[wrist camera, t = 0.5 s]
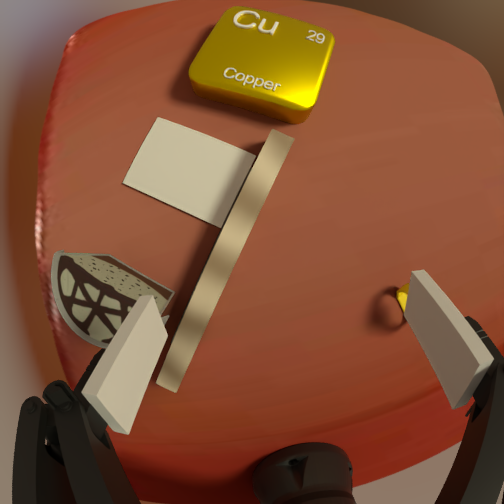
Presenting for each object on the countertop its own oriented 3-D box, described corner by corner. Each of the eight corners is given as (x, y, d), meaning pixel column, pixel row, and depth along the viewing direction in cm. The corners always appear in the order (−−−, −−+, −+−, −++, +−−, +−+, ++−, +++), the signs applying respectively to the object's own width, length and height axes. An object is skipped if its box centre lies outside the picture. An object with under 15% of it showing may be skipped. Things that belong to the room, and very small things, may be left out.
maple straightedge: (181, 379, 31) (176, 392, 27) (159, 368, 31) (151, 381, 27) (289, 149, 30) (294, 138, 27) (265, 138, 30) (268, 127, 27)
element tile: (188, 96, 30) (180, 76, 25) (230, 21, 30) (230, 0, 25) (303, 130, 31) (313, 113, 26) (330, 50, 31) (339, 30, 26)
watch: (386, 291, 32) (410, 296, 26) (402, 278, 32) (427, 281, 26) (405, 327, 32) (429, 337, 26) (420, 314, 32) (445, 322, 26)
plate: (220, 228, 30) (220, 228, 30) (123, 183, 30) (122, 182, 30) (256, 156, 30) (256, 155, 30) (158, 117, 30) (158, 117, 29)
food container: (83, 292, 30) (34, 307, 20) (99, 248, 30) (50, 250, 20) (166, 342, 31) (138, 380, 21) (186, 298, 31) (163, 322, 21)
